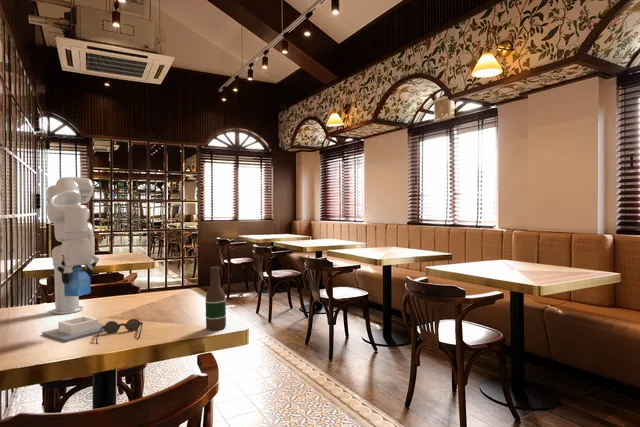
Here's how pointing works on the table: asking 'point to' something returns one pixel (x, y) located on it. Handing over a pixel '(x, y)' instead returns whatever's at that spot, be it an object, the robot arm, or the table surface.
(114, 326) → the eyeglasses
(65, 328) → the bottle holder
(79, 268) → the perfume bottle
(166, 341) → the table surface
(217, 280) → the beer bottle
